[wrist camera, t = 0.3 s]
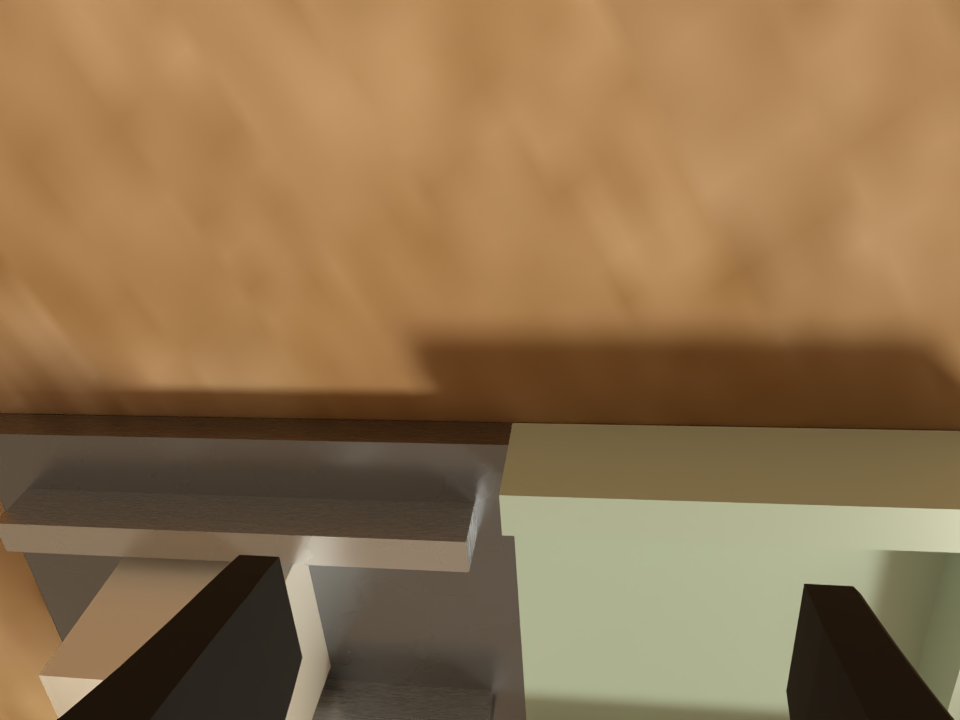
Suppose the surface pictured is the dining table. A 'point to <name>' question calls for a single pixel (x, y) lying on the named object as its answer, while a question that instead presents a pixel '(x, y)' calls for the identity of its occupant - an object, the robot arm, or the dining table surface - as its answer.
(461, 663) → the dock
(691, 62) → the dining table surface
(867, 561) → the tray
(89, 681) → the beige cardboard box
